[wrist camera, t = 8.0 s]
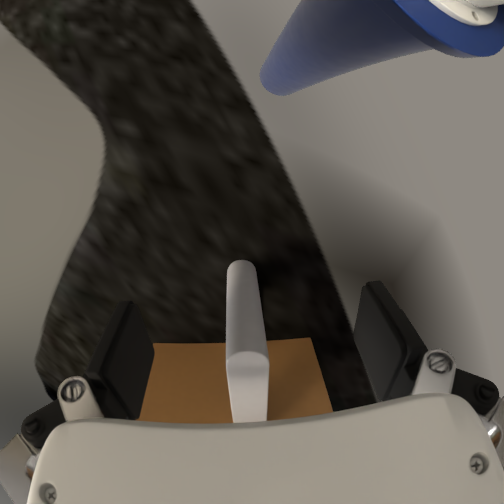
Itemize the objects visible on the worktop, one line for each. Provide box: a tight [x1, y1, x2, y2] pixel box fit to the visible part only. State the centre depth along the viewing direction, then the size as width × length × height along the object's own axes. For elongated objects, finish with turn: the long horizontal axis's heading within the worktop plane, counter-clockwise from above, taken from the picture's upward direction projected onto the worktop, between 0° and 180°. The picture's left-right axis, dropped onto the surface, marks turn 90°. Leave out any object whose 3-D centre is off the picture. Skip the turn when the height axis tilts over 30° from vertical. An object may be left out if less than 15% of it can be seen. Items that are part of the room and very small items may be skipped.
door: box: [136, 260, 333, 424], centre depth 16 cm, size 8×12×13 cm, turn 91°
